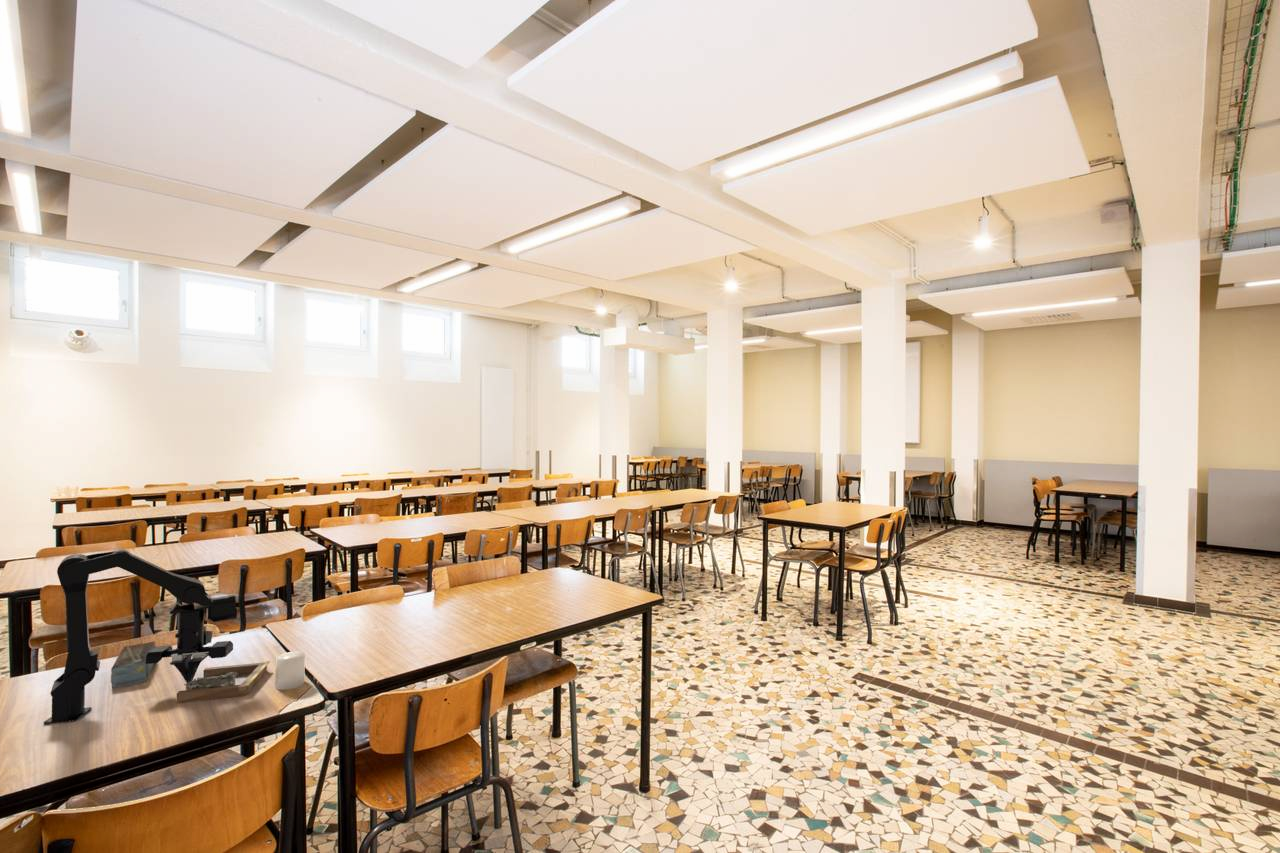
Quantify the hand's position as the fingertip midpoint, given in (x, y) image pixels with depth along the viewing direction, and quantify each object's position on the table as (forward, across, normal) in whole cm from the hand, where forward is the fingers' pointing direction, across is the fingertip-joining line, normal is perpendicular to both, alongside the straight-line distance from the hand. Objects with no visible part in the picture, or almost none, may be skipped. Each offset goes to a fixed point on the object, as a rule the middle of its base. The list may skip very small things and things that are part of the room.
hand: (189, 683), depth 158 cm
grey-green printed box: (+2, +20, -17) cm, 26 cm away
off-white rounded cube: (+2, -26, +4) cm, 26 cm away
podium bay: (+2, -9, 0) cm, 9 cm away
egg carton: (+2, -6, +3) cm, 7 cm away
